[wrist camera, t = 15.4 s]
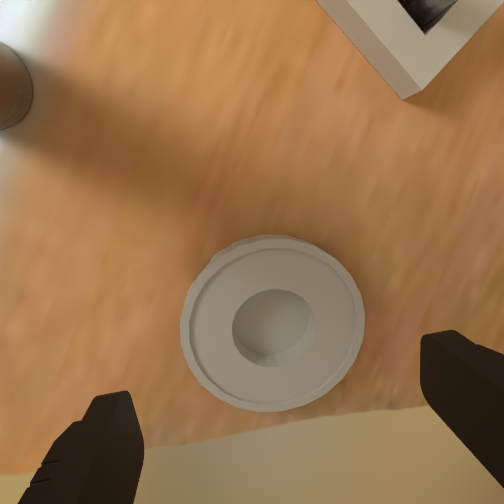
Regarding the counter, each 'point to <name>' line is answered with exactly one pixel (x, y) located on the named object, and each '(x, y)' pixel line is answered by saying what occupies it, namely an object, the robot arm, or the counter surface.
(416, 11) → the graphite peg
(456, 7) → the peg block
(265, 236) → the ashtray
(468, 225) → the counter surface
